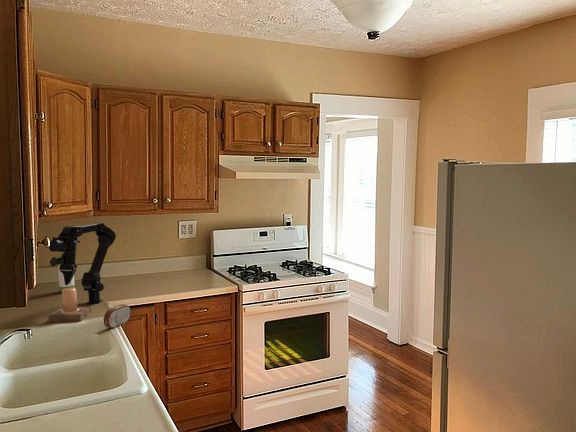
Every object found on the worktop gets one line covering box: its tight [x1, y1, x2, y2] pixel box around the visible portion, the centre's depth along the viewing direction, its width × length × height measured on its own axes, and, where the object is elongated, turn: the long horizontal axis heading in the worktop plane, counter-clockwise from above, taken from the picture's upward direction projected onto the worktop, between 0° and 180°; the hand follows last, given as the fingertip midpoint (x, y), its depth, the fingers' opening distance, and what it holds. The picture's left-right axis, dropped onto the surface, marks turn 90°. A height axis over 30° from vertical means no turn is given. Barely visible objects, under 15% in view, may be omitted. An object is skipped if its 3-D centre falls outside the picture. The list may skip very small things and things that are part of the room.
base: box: [47, 305, 92, 323], centre depth 232 cm, size 14×14×3 cm
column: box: [61, 287, 78, 312], centre depth 232 cm, size 6×6×10 cm
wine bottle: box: [58, 252, 76, 293], centre depth 284 cm, size 8×8×30 cm
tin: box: [103, 304, 132, 329], centre depth 219 cm, size 15×3×8 cm, turn 159°
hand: (67, 284), depth 243 cm, fingers open, 9 cm apart
